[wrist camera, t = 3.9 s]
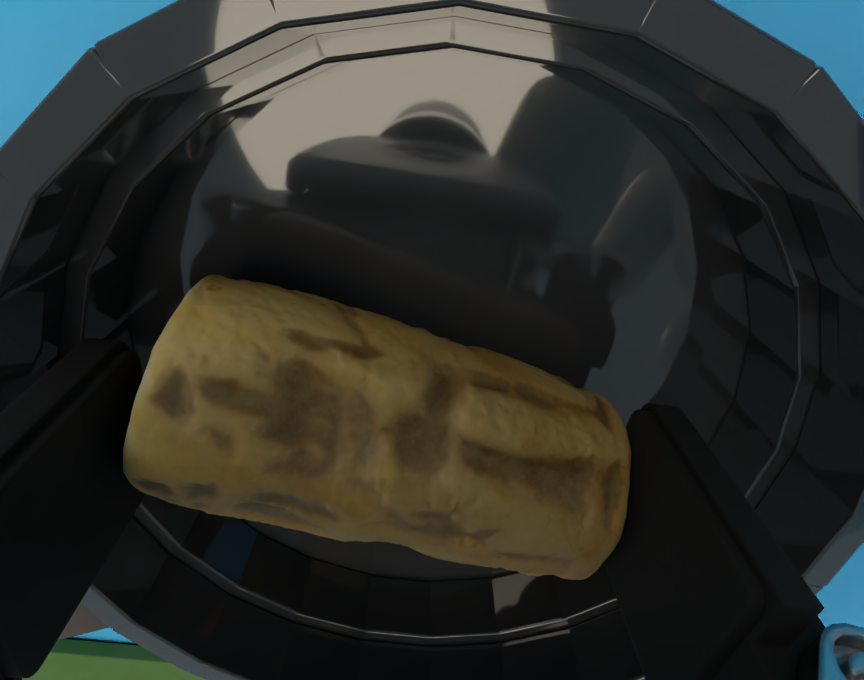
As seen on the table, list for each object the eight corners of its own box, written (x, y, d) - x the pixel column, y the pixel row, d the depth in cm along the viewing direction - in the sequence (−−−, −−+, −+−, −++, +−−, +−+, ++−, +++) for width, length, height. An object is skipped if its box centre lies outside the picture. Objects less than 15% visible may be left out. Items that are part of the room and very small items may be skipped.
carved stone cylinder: (608, 365, 11) (688, 507, 8) (522, 496, 13) (553, 657, 9) (230, 229, 10) (111, 325, 6) (195, 398, 12) (89, 545, 8)
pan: (956, 73, 8) (1258, 86, 5) (637, 612, 16) (687, 750, 13) (10, -106, 7) (-301, -222, 4) (141, 561, 15) (62, 697, 12)
